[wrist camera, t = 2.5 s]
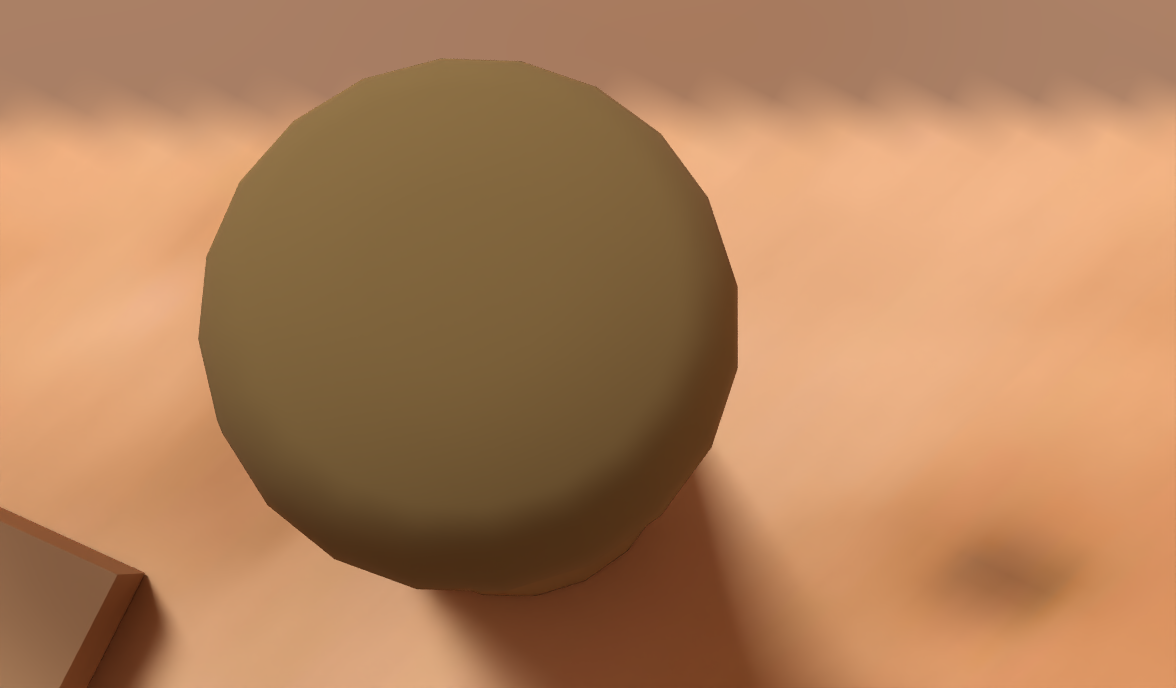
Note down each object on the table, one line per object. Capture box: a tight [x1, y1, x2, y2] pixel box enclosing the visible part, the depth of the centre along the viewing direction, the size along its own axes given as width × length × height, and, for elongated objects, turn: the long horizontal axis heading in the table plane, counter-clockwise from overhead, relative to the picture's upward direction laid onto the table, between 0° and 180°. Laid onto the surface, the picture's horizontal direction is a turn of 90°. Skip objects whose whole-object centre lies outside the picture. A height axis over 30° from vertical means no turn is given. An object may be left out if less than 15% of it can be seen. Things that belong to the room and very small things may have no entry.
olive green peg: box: [198, 59, 738, 596], centre depth 14 cm, size 6×6×11 cm
